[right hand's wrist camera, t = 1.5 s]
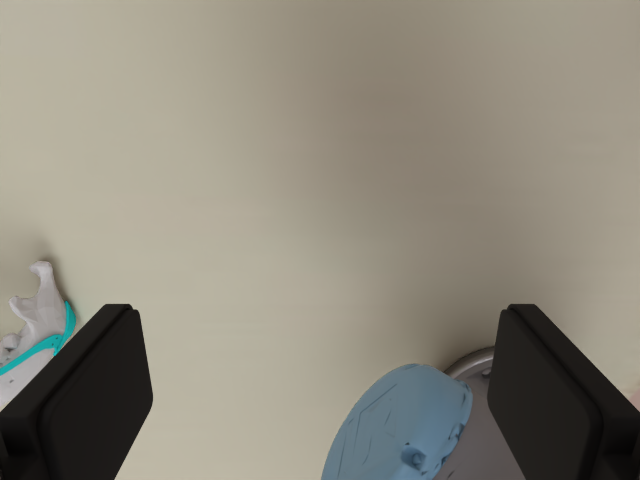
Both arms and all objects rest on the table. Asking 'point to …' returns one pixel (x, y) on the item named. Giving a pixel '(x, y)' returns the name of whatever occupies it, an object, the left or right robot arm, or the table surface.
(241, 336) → the table surface
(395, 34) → the table surface
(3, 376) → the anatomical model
